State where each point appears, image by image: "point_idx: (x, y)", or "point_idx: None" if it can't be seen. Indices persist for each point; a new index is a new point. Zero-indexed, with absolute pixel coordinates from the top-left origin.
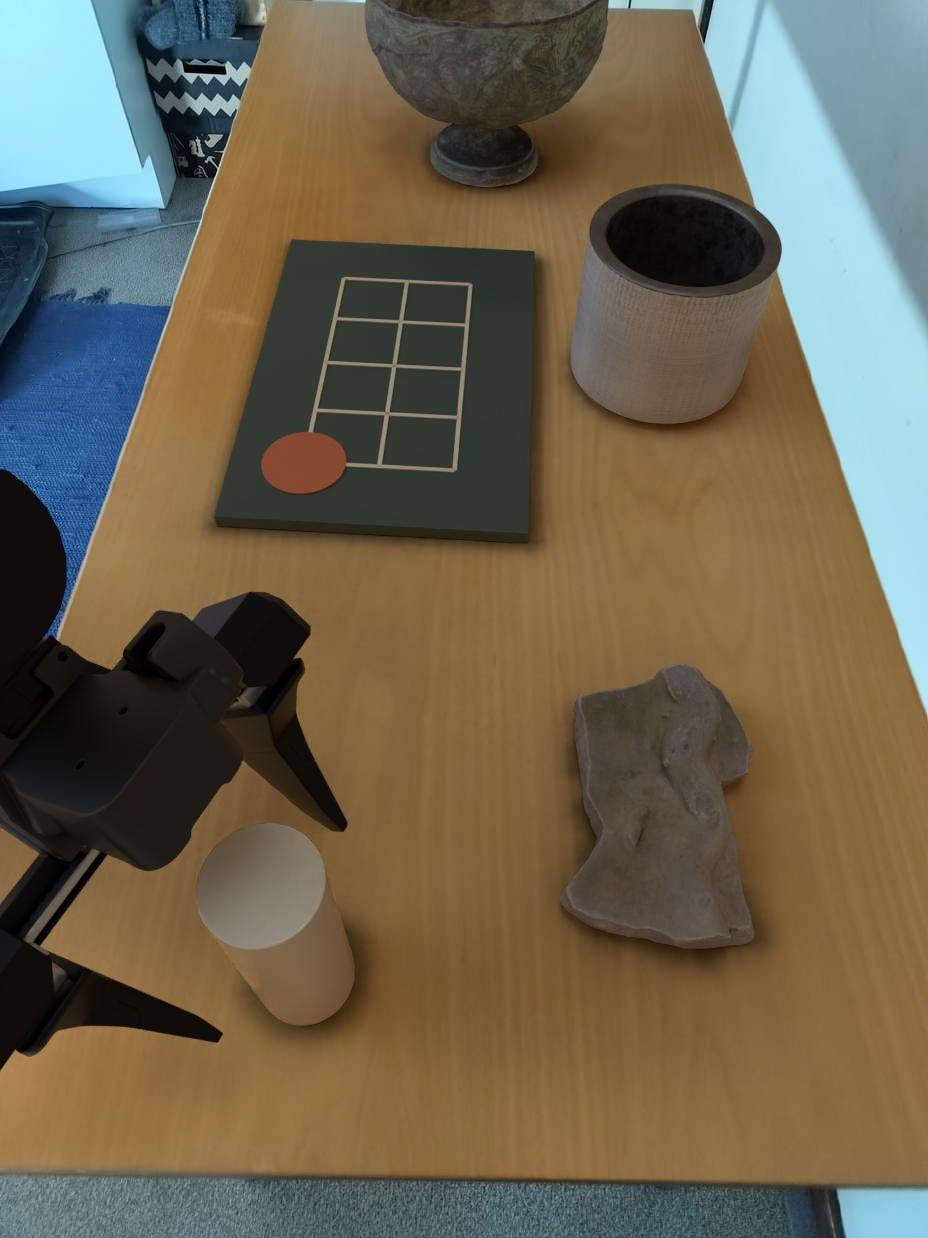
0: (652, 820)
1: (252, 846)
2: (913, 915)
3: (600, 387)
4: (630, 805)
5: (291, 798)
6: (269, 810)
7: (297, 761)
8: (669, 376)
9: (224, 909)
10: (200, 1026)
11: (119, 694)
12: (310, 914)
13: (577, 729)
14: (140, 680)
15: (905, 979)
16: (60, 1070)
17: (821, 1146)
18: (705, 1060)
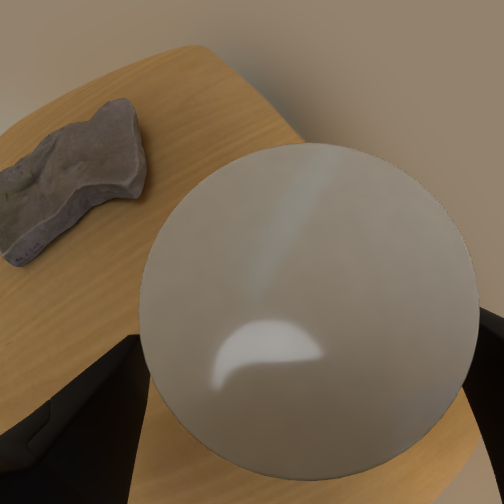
0: (65, 164)
1: (241, 392)
2: (94, 80)
3: None
4: (59, 182)
5: (135, 425)
6: (186, 461)
7: (52, 423)
8: None
9: (429, 330)
10: None
11: None
12: (305, 145)
13: (25, 252)
14: None
15: (122, 70)
16: (447, 447)
17: (209, 60)
18: (195, 101)
